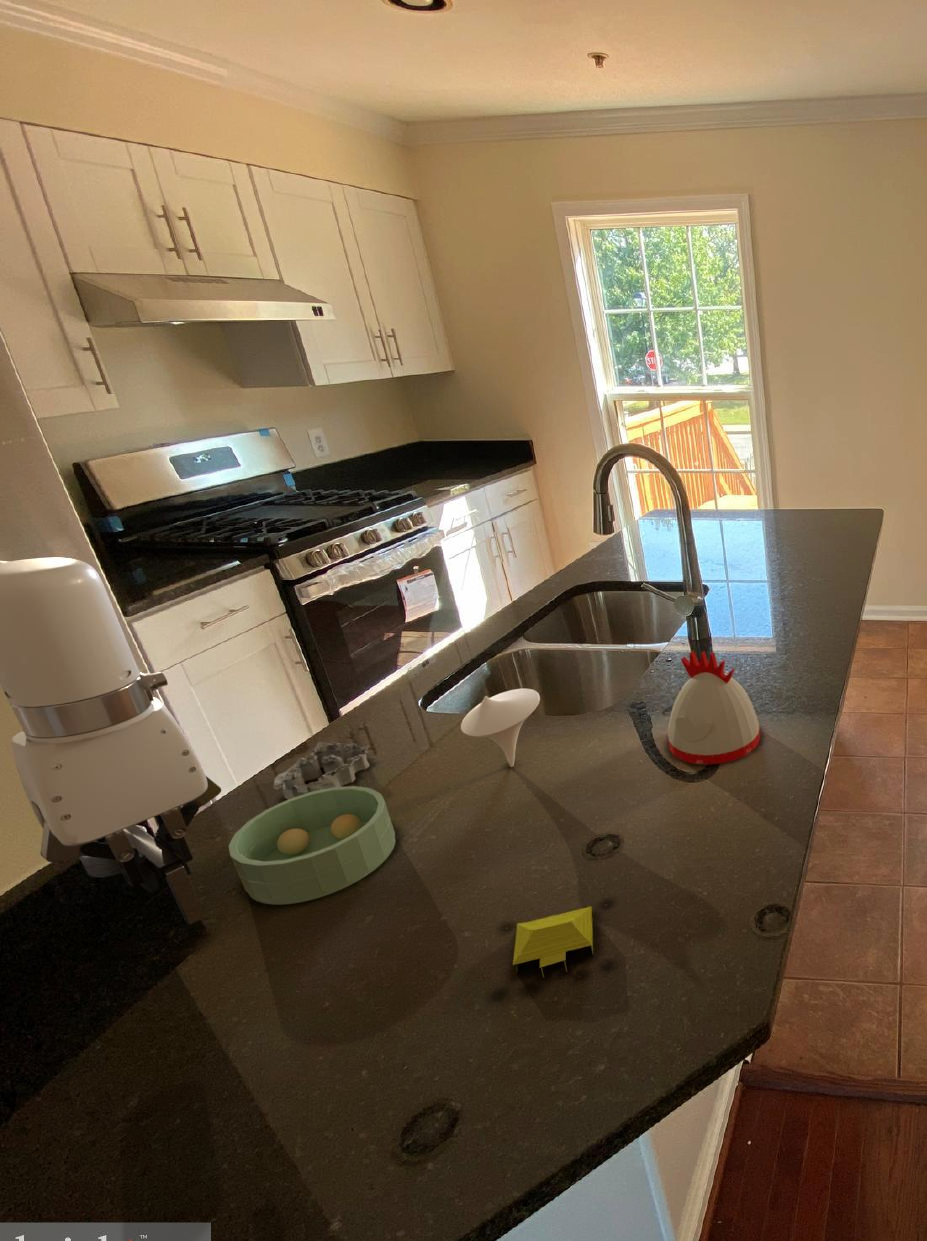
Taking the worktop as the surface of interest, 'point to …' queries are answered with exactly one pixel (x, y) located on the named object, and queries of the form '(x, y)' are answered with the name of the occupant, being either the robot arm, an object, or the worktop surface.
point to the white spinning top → (501, 718)
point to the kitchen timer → (711, 715)
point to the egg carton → (336, 764)
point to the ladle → (159, 862)
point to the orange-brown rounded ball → (293, 841)
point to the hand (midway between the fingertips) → (163, 877)
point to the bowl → (312, 845)
